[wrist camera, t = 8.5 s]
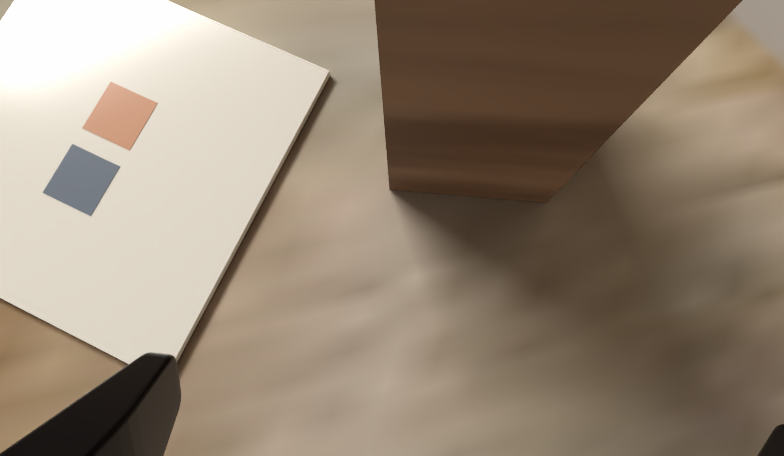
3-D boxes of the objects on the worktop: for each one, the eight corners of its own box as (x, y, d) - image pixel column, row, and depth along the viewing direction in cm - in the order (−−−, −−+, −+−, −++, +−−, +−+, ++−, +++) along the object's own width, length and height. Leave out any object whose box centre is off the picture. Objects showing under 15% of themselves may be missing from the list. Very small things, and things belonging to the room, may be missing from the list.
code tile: (330, 74, 19) (329, 70, 19) (167, 381, 17) (162, 381, 17) (53, -46, 21) (48, -52, 20) (-129, 229, 19) (-139, 227, 18)
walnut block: (546, 202, 18) (867, -130, 6) (389, 189, 19) (361, -160, 6) (551, 58, 19) (834, -495, 7) (403, 47, 20) (404, -512, 7)
